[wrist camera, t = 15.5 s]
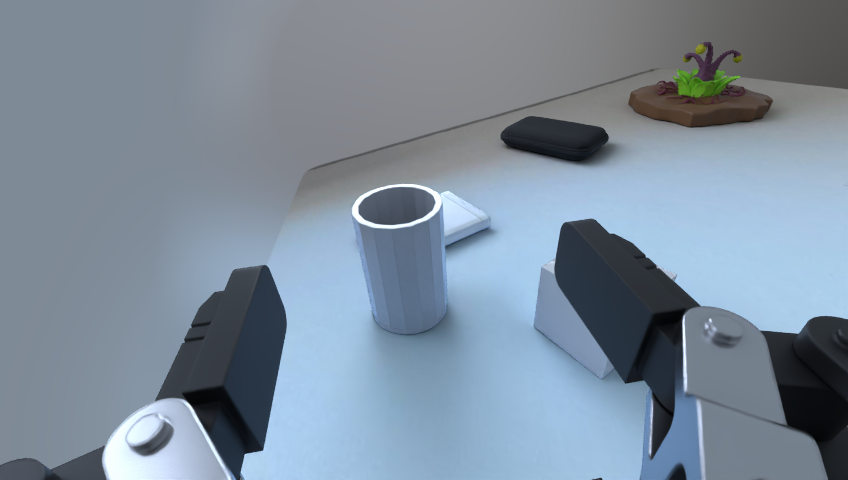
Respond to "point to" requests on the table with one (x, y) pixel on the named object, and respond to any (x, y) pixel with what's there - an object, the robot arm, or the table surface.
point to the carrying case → (555, 137)
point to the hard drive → (461, 218)
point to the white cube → (569, 323)
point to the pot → (403, 256)
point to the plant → (701, 95)
